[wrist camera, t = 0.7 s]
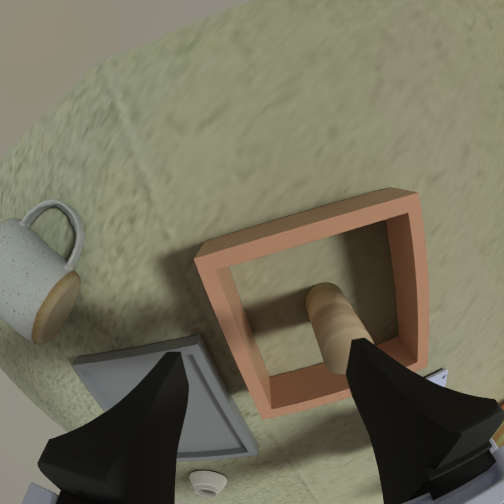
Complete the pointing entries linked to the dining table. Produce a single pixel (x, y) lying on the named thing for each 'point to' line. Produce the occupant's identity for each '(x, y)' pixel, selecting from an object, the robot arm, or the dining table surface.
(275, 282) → the dining table surface
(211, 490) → the white jar
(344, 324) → the maple pin
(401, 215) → the terracotta planter box
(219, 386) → the slate tray
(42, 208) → the ceramic mug
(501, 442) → the potted cactus
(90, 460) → the robot arm
